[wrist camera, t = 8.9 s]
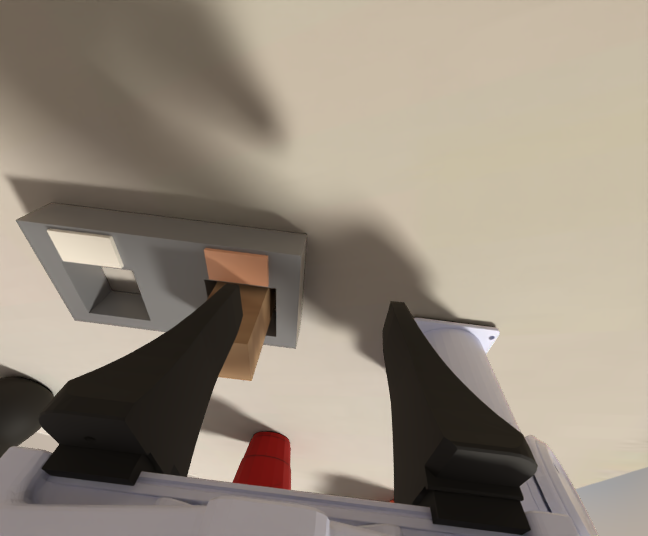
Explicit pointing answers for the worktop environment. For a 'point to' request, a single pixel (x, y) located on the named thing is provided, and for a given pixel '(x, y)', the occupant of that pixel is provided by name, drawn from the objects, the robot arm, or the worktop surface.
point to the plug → (248, 330)
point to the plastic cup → (266, 462)
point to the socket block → (163, 265)
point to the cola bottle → (20, 410)
